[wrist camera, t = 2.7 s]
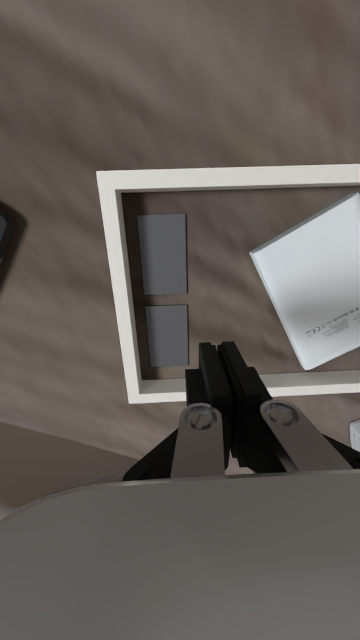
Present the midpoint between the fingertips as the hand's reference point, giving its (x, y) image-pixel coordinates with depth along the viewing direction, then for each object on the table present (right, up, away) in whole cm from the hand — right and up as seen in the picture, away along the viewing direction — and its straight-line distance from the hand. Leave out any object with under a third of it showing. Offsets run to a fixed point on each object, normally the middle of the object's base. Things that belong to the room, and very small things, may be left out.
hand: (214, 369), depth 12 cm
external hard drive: (+10, +5, +9) cm, 15 cm away
